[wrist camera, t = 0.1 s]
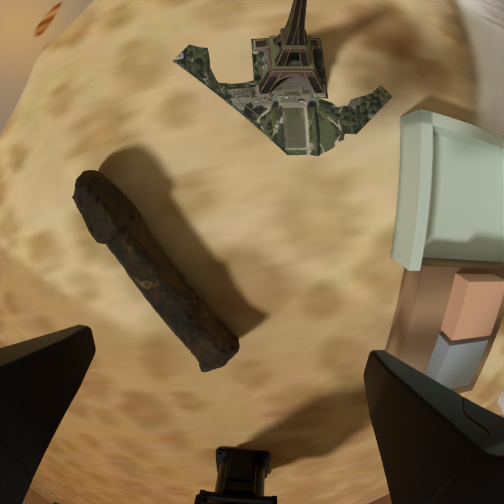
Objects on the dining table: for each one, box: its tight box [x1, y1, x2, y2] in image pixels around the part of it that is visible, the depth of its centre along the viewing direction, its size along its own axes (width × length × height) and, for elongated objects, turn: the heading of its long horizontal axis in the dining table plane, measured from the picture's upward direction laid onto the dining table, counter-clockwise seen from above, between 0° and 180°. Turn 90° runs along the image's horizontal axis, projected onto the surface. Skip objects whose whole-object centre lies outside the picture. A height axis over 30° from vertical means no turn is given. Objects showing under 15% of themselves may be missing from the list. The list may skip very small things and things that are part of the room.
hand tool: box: [72, 170, 240, 372], centre depth 21 cm, size 19×4×5 cm, turn 33°
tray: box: [391, 109, 504, 271], centre depth 18 cm, size 12×15×4 cm
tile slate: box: [425, 334, 488, 389], centre depth 20 cm, size 5×5×2 cm
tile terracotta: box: [441, 273, 504, 341], centre depth 18 cm, size 5×5×2 cm
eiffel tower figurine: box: [173, 0, 392, 156], centre depth 13 cm, size 15×10×13 cm
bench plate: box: [385, 257, 504, 393], centre depth 22 cm, size 14×12×3 cm
